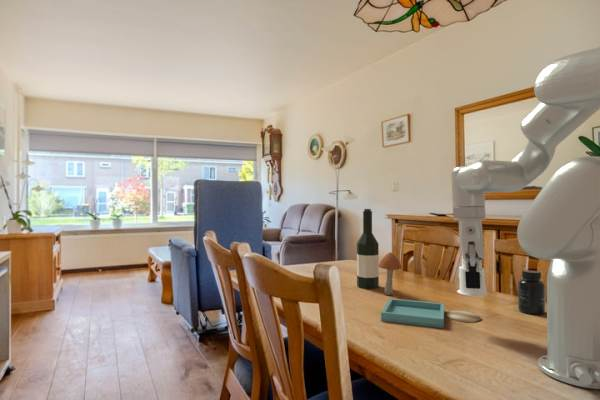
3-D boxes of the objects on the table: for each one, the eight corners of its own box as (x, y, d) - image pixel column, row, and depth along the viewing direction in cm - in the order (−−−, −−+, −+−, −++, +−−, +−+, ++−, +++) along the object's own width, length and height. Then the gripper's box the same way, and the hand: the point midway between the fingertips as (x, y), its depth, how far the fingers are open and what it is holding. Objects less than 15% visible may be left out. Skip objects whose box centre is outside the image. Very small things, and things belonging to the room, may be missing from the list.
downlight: (449, 291, 96) (449, 253, 96) (470, 289, 99) (470, 251, 99) (473, 299, 89) (473, 257, 89) (495, 296, 91) (495, 255, 91)
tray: (443, 328, 96) (443, 319, 96) (381, 320, 102) (381, 312, 102) (444, 311, 111) (444, 303, 111) (389, 305, 117) (389, 298, 117)
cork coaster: (481, 323, 99) (481, 321, 99) (445, 319, 103) (445, 318, 103) (479, 314, 108) (479, 312, 108) (446, 310, 111) (446, 309, 111)
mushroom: (406, 296, 128) (406, 253, 128) (387, 298, 125) (387, 254, 125) (392, 291, 136) (392, 250, 136) (374, 293, 133) (374, 251, 133)
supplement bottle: (549, 316, 106) (549, 274, 106) (523, 314, 107) (523, 273, 108) (539, 309, 113) (539, 269, 113) (514, 308, 114) (514, 269, 114)
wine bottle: (352, 285, 146) (352, 208, 146) (370, 283, 149) (370, 208, 149) (364, 289, 138) (364, 209, 138) (383, 287, 142) (382, 209, 142)
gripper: (488, 213, 85) (492, 293, 84) (482, 214, 101) (485, 281, 100) (453, 214, 88) (456, 291, 87) (452, 215, 104) (455, 280, 103)
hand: (472, 285), depth 94 cm, fingers closed on downlight, 5 cm apart
